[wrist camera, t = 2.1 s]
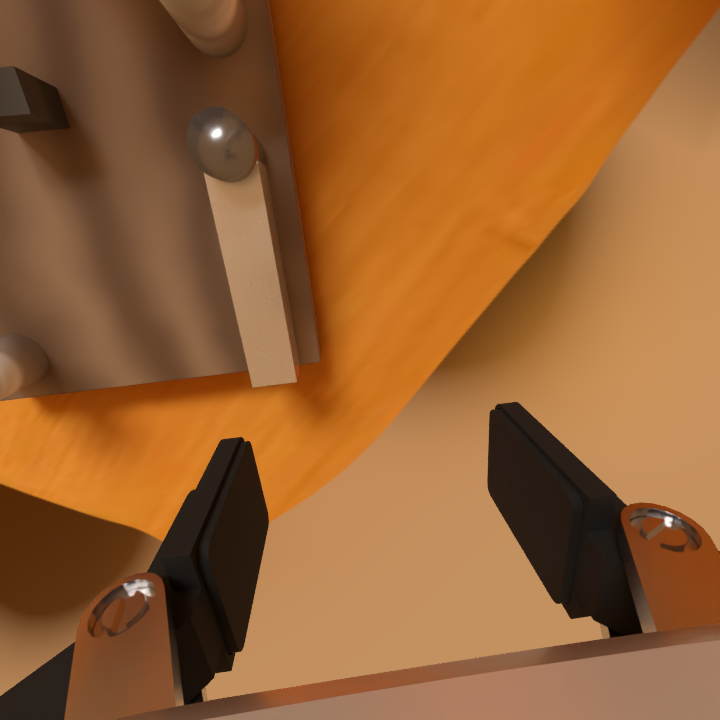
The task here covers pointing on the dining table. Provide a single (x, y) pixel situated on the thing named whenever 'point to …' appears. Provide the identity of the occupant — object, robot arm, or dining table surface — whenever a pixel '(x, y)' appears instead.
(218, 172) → the hinged leg
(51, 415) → the dining table surface
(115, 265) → the brown board with pegs
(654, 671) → the robot arm
